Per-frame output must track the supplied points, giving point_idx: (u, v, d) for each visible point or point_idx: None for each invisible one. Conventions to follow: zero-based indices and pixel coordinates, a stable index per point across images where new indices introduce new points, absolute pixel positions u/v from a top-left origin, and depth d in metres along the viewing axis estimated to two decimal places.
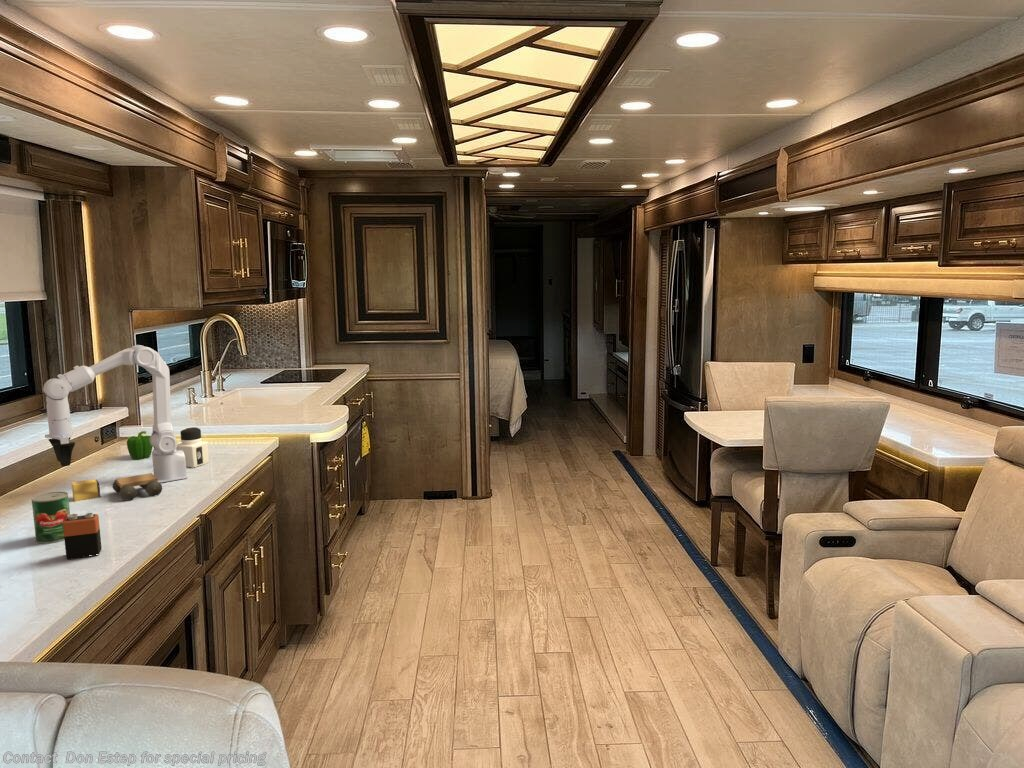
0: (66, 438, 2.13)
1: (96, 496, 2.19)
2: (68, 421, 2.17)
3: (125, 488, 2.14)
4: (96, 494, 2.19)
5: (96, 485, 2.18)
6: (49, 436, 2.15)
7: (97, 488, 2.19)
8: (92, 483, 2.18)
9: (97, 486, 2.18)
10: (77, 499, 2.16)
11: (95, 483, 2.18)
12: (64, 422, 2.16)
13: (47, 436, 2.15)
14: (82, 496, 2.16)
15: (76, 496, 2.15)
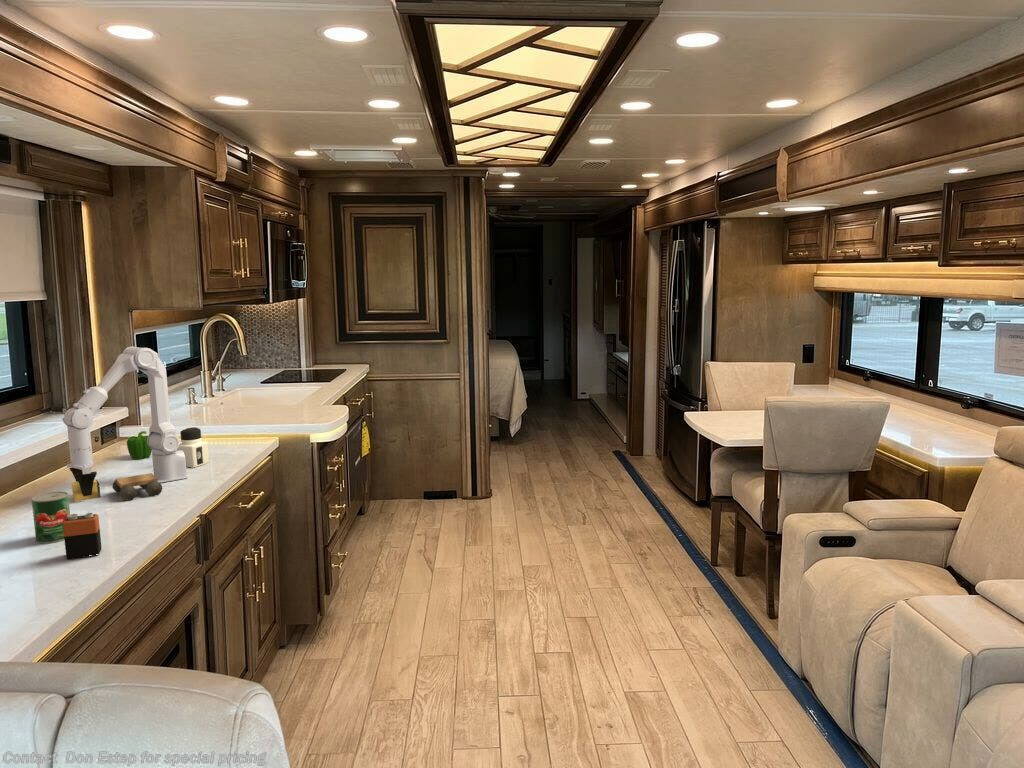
0: (88, 468, 2.12)
1: (96, 496, 2.19)
2: (89, 450, 2.16)
3: (125, 488, 2.14)
4: (96, 494, 2.19)
5: (96, 485, 2.18)
6: (71, 466, 2.14)
7: (97, 488, 2.19)
8: None
9: (97, 486, 2.18)
10: (77, 499, 2.16)
11: (95, 483, 2.18)
12: (86, 452, 2.15)
13: (69, 466, 2.14)
14: (82, 496, 2.16)
15: (76, 496, 2.15)
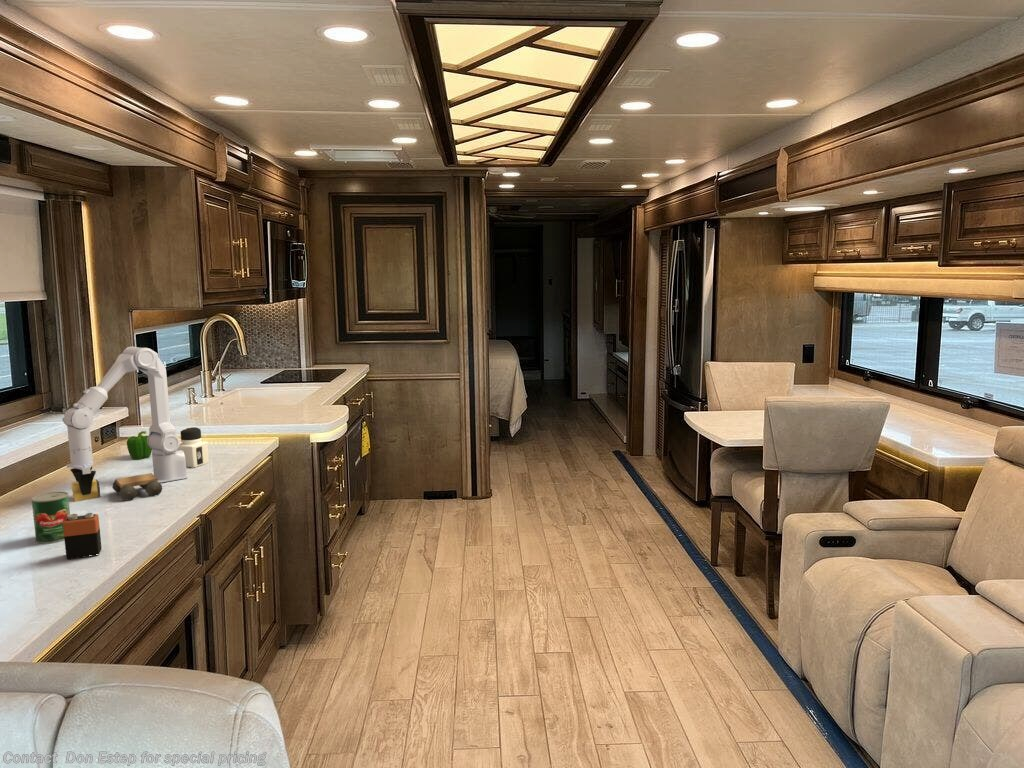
0: (88, 468, 2.12)
1: (96, 496, 2.19)
2: (89, 450, 2.16)
3: (125, 488, 2.14)
4: (96, 494, 2.19)
5: (96, 485, 2.18)
6: (71, 466, 2.14)
7: (97, 488, 2.19)
8: (92, 483, 2.18)
9: (97, 486, 2.18)
10: (77, 499, 2.16)
11: (95, 483, 2.18)
12: (86, 452, 2.15)
13: (69, 466, 2.14)
14: (82, 495, 2.16)
15: (76, 496, 2.15)
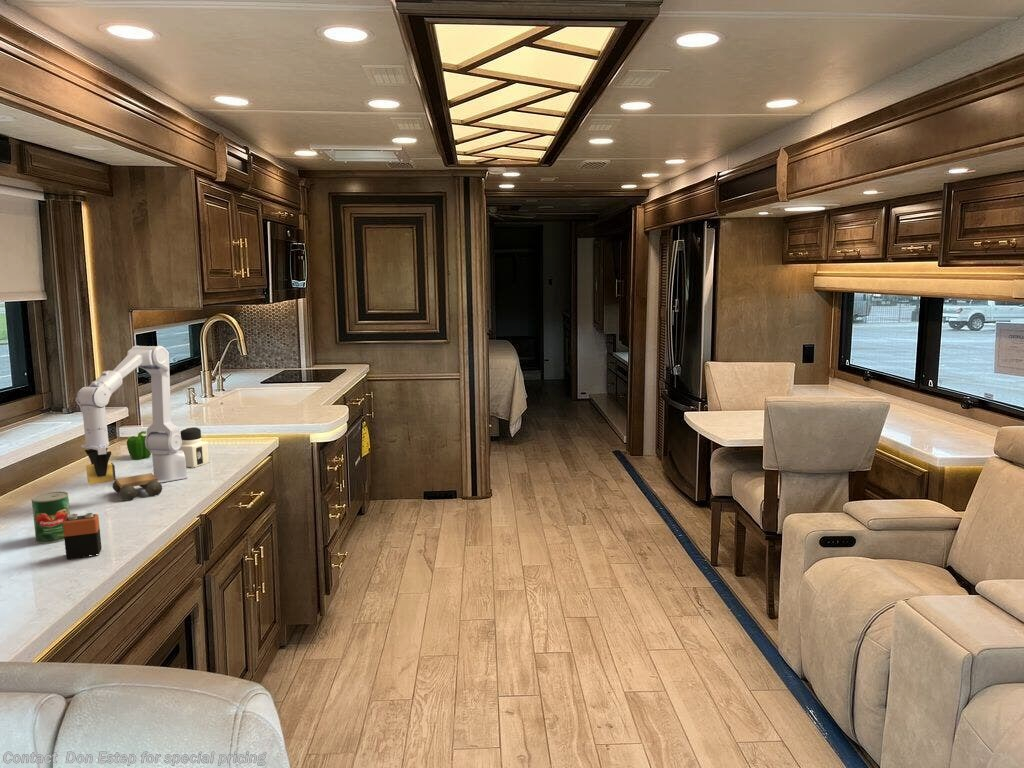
0: (104, 448, 2.04)
1: (111, 479, 2.11)
2: (105, 430, 2.09)
3: (125, 488, 2.14)
4: (111, 477, 2.11)
5: (111, 468, 2.11)
6: (85, 446, 2.07)
7: (112, 471, 2.11)
8: (107, 466, 2.10)
9: (112, 469, 2.11)
10: (92, 482, 2.08)
11: (110, 466, 2.10)
12: (101, 432, 2.07)
13: (83, 446, 2.07)
14: (97, 479, 2.09)
15: (91, 479, 2.08)
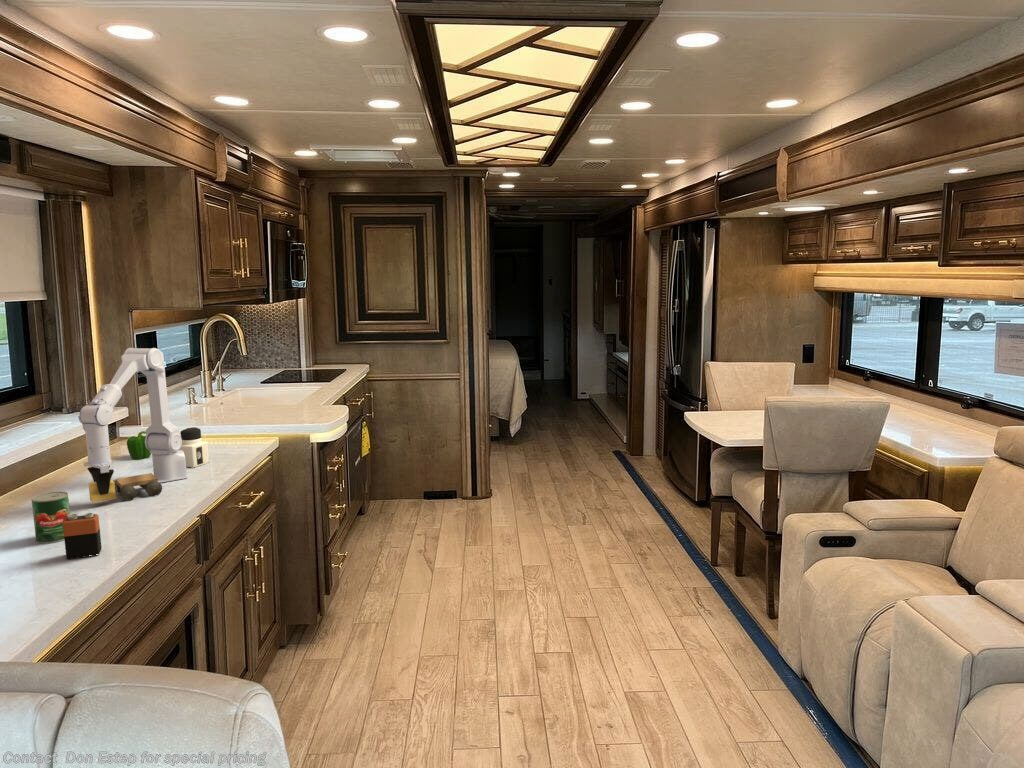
0: (106, 467, 2.05)
1: (114, 497, 2.12)
2: (107, 448, 2.09)
3: (125, 488, 2.14)
4: (114, 495, 2.12)
5: (114, 485, 2.11)
6: (88, 464, 2.07)
7: (115, 489, 2.12)
8: (110, 483, 2.11)
9: (114, 487, 2.11)
10: (94, 500, 2.09)
11: (113, 483, 2.11)
12: (103, 450, 2.08)
13: (86, 464, 2.07)
14: (99, 496, 2.09)
15: (93, 497, 2.08)
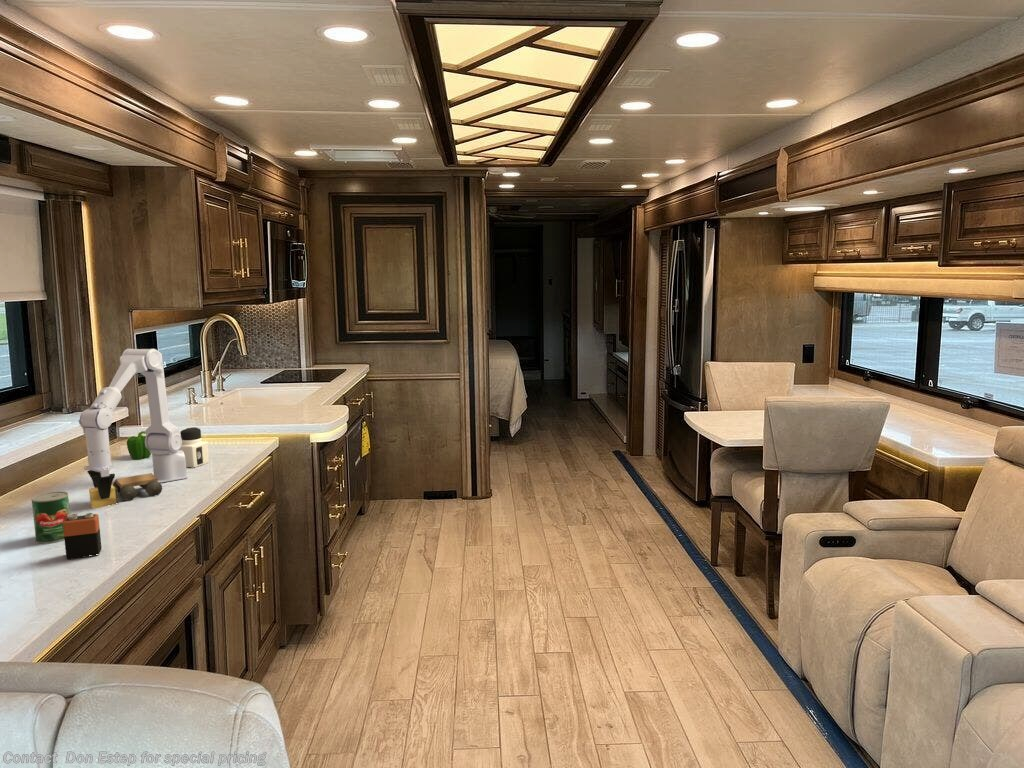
0: (107, 471, 2.05)
1: (114, 503, 2.12)
2: (108, 452, 2.09)
3: (125, 488, 2.14)
4: (114, 501, 2.12)
5: (114, 491, 2.12)
6: (88, 468, 2.08)
7: (115, 494, 2.12)
8: None
9: (115, 493, 2.12)
10: (95, 506, 2.09)
11: (113, 489, 2.11)
12: (104, 453, 2.08)
13: (86, 468, 2.07)
14: (100, 502, 2.10)
15: (94, 503, 2.09)
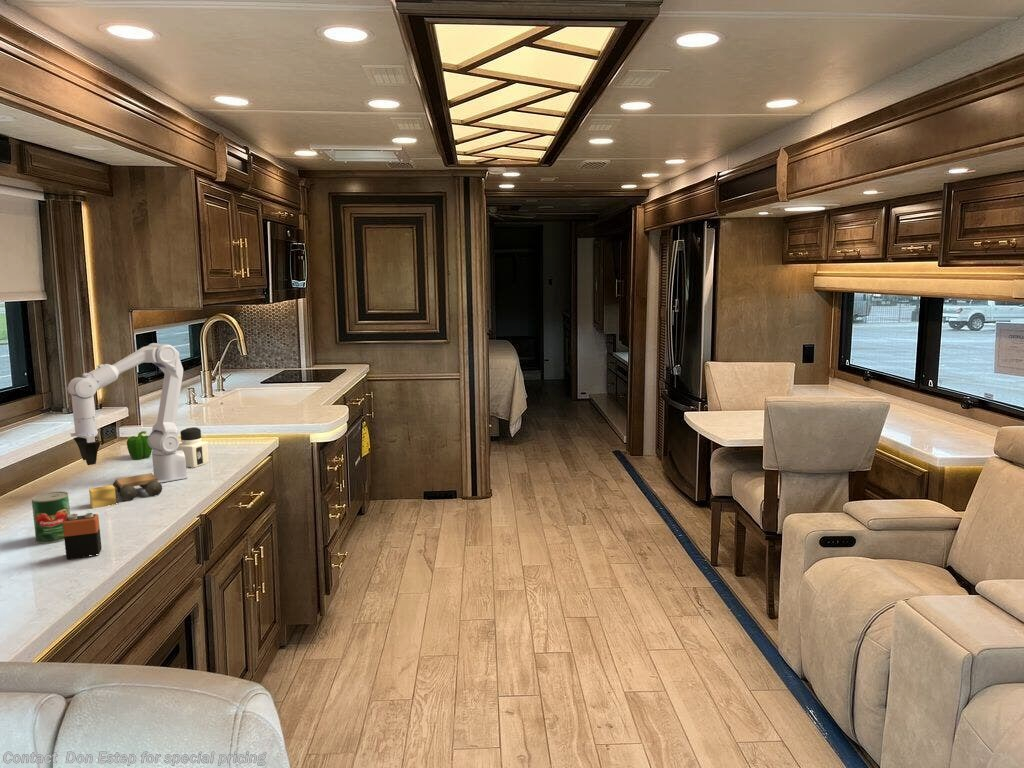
0: (92, 437, 2.13)
1: (114, 503, 2.12)
2: (94, 420, 2.17)
3: (125, 488, 2.14)
4: (114, 501, 2.12)
5: (114, 491, 2.12)
6: (75, 435, 2.15)
7: (115, 494, 2.12)
8: (110, 489, 2.11)
9: (115, 493, 2.12)
10: (95, 506, 2.09)
11: (113, 489, 2.11)
12: (90, 421, 2.16)
13: (73, 435, 2.15)
14: (100, 502, 2.10)
15: (94, 503, 2.09)
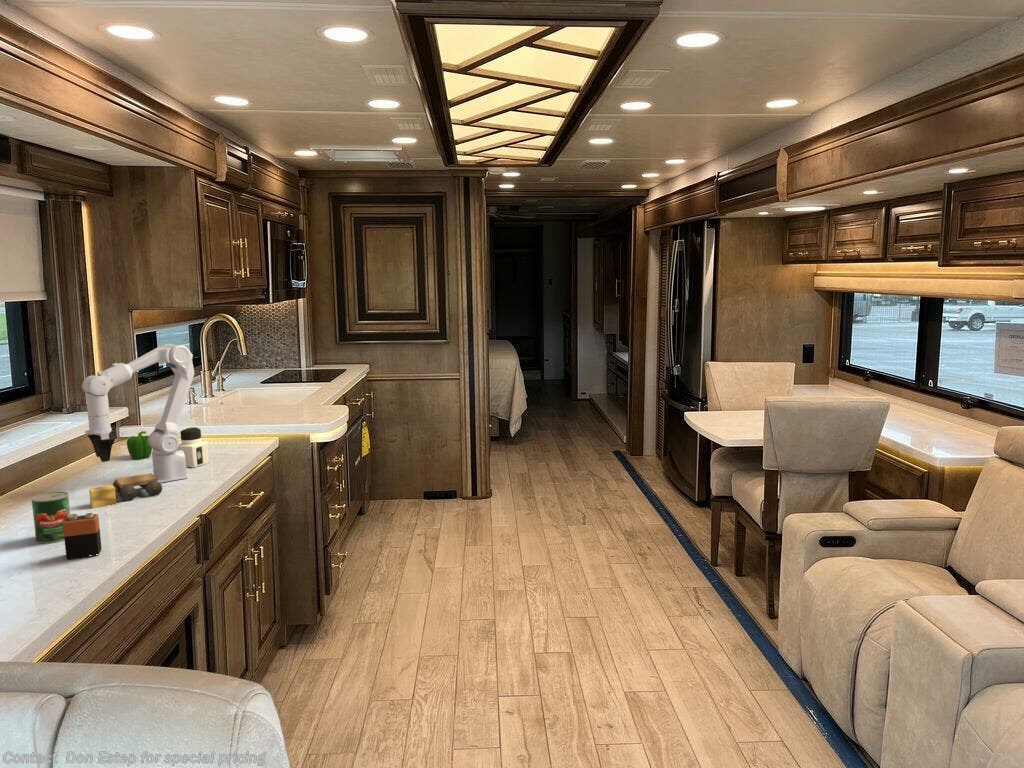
0: (106, 434, 2.17)
1: (114, 503, 2.12)
2: (107, 417, 2.21)
3: (125, 488, 2.14)
4: (114, 501, 2.12)
5: (114, 491, 2.12)
6: (89, 432, 2.19)
7: (115, 494, 2.12)
8: (110, 489, 2.11)
9: (115, 493, 2.12)
10: (95, 506, 2.09)
11: (113, 489, 2.11)
12: (104, 418, 2.20)
13: (87, 432, 2.19)
14: (100, 502, 2.10)
15: (94, 503, 2.09)
